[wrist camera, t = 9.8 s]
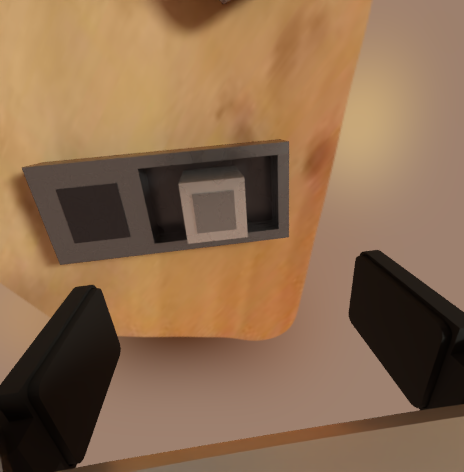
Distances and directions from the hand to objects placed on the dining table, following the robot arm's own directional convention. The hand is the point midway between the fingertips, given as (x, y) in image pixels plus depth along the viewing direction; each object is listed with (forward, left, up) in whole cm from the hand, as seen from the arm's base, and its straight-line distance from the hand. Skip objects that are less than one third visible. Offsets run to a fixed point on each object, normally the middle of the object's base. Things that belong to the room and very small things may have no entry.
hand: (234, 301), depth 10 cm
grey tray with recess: (+1, -4, -18) cm, 19 cm away
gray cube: (0, 0, -18) cm, 18 cm away
